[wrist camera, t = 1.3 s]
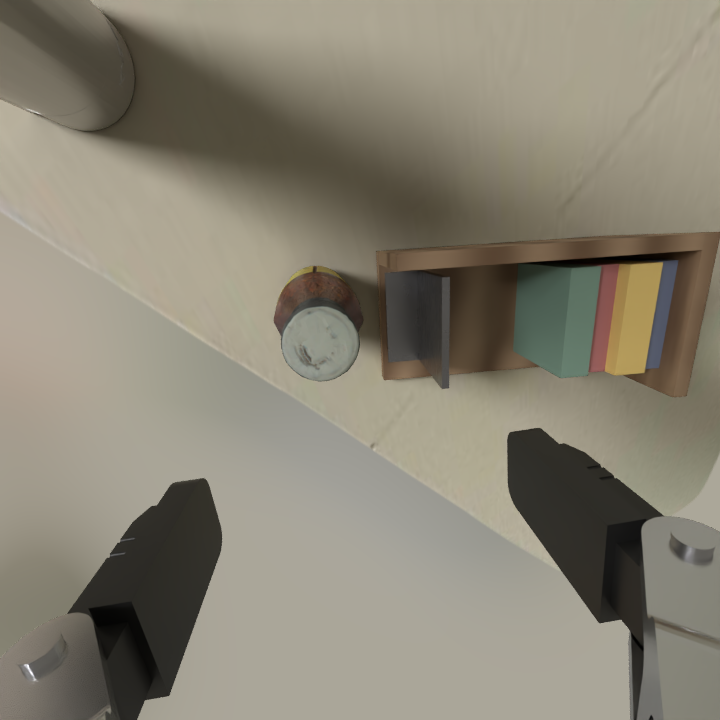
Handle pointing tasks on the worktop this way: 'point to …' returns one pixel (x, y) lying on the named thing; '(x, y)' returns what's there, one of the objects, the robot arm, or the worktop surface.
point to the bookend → (419, 320)
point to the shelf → (499, 287)
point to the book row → (593, 314)
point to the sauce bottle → (318, 323)
